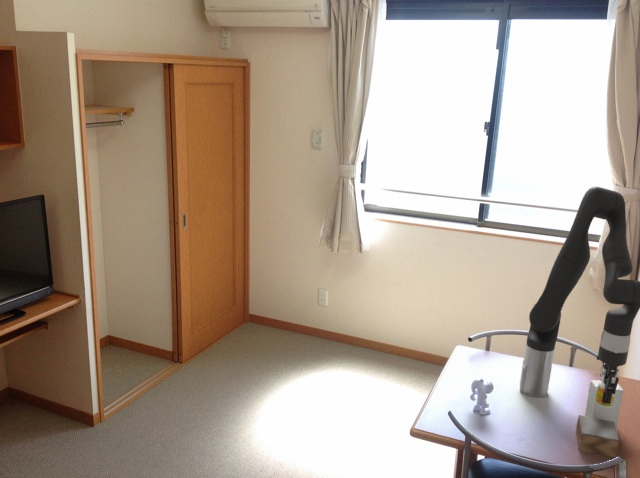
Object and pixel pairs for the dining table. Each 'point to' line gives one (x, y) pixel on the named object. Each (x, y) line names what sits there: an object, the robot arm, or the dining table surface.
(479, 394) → the toy figurine
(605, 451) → the walnut block
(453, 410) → the dining table surface
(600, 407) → the skincare box
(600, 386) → the supplement bottle
